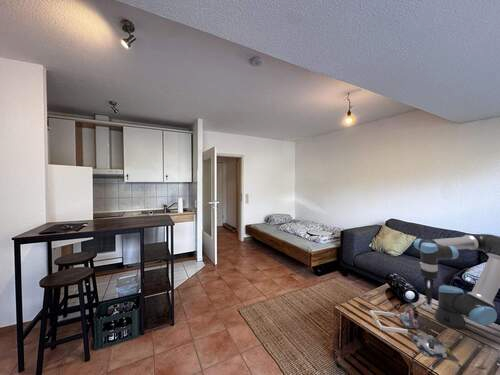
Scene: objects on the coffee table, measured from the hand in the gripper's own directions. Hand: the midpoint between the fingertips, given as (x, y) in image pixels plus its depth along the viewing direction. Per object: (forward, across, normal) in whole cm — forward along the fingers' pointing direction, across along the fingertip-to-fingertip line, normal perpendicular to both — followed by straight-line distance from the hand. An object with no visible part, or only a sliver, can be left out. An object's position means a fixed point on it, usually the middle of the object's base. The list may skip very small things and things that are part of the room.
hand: (428, 308), depth 120 cm
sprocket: (+17, +9, +1) cm, 19 cm away
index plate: (+17, +9, +1) cm, 20 cm away
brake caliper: (+18, -5, -10) cm, 21 cm away
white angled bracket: (+17, +2, -20) cm, 26 cm away
